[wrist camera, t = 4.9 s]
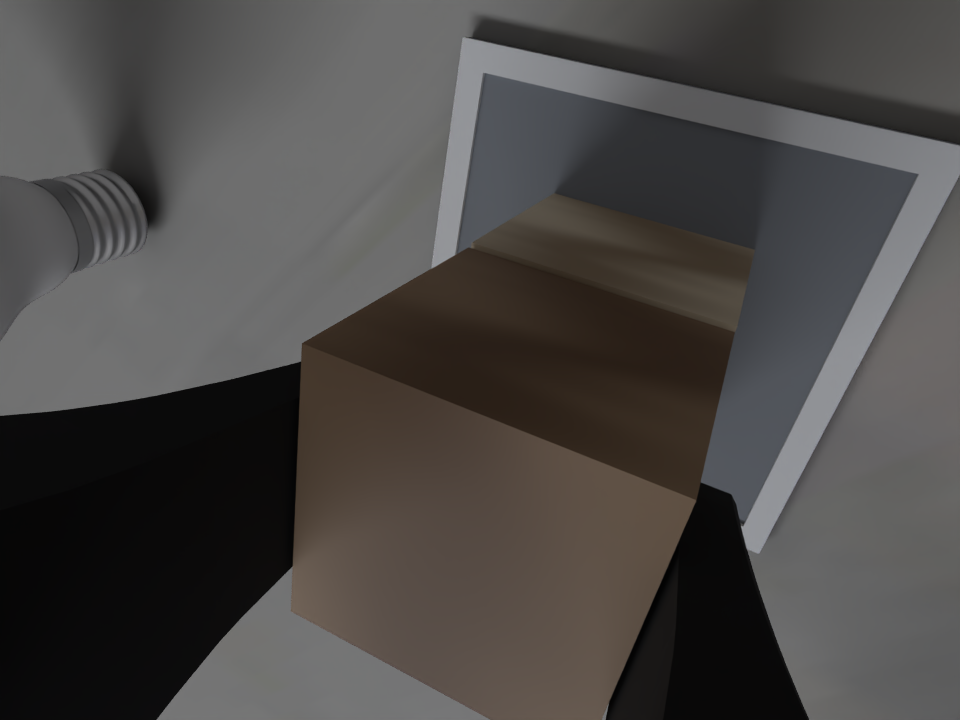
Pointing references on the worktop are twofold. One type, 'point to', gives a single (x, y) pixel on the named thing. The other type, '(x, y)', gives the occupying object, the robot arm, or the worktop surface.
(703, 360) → the walnut block
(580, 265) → the beech block
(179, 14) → the worktop surface
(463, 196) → the grey square tray
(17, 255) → the lightbulb
